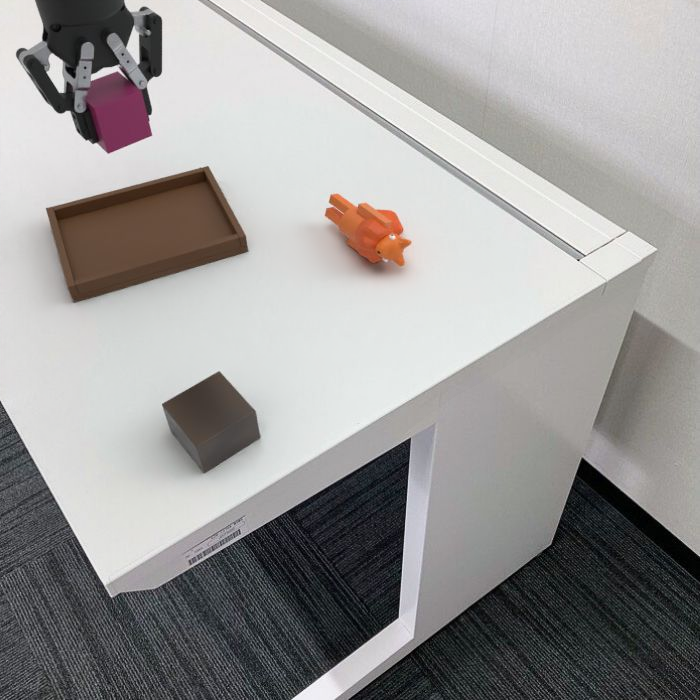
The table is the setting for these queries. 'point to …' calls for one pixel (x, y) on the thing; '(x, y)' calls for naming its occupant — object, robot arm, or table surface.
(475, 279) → the table surface
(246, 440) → the dark brown block
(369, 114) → the table surface
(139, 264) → the tray
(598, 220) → the table surface
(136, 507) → the table surface
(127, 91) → the mulberry block
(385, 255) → the orange toy animal
